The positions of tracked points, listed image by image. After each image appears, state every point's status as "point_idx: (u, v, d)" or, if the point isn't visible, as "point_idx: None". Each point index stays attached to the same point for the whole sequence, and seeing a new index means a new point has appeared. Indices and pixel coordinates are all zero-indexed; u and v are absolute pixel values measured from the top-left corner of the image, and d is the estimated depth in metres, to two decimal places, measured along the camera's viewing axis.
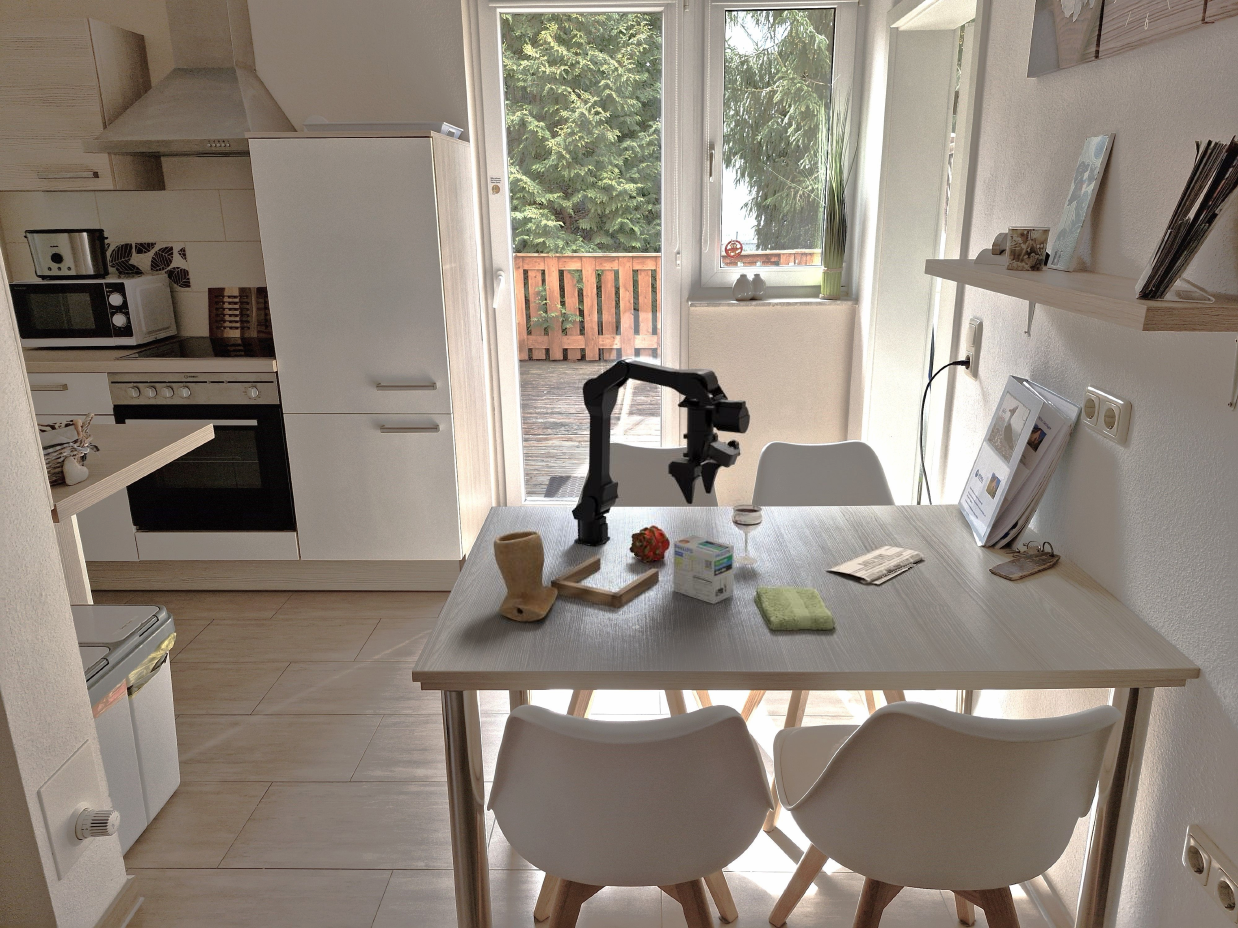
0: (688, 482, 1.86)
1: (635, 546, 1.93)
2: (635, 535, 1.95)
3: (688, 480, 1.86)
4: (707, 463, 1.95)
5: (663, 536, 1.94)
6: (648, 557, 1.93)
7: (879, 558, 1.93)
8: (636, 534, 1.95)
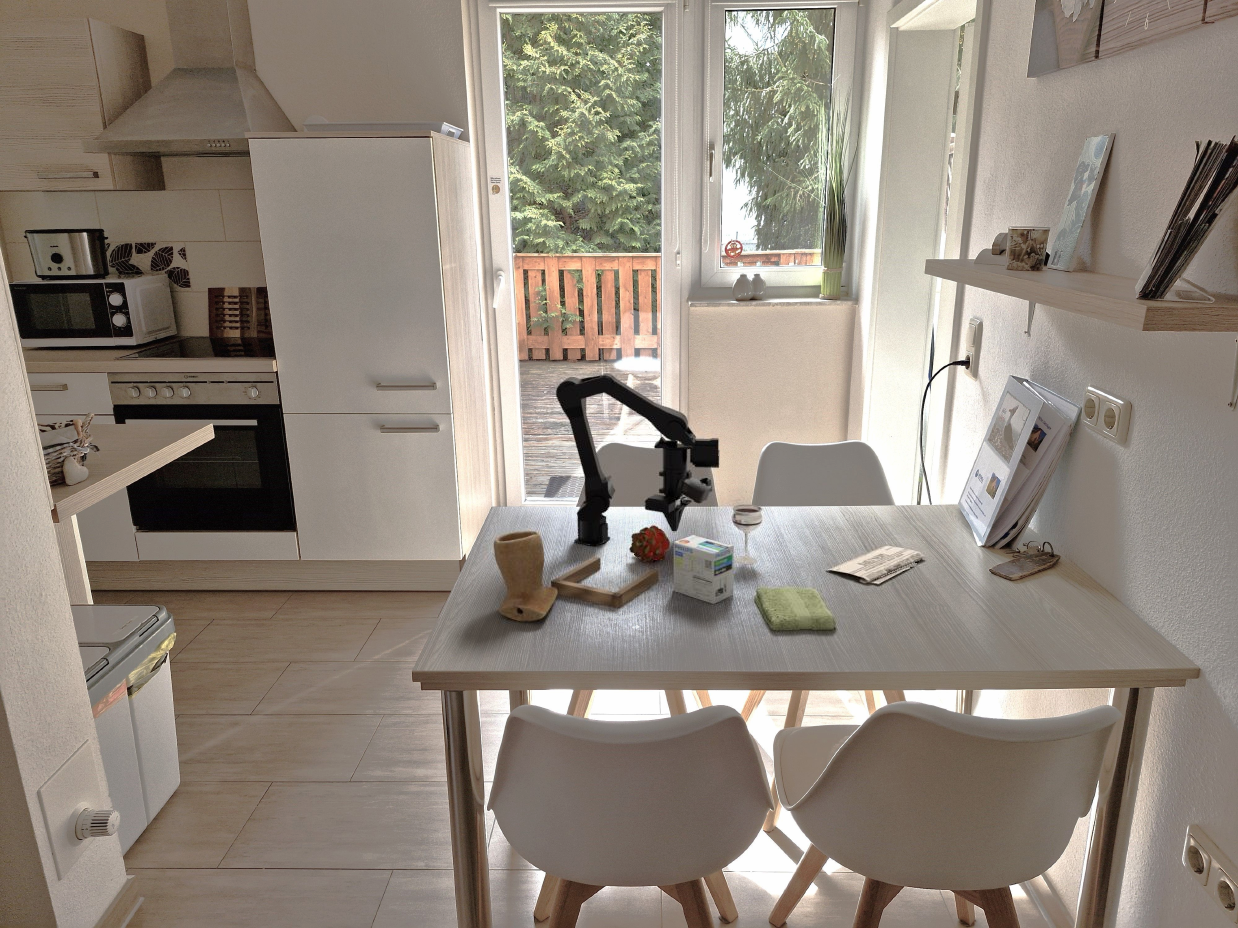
0: (672, 511, 2.04)
1: (635, 546, 1.93)
2: (635, 535, 1.95)
3: (672, 510, 2.04)
4: None
5: (663, 536, 1.94)
6: (648, 557, 1.93)
7: (879, 558, 1.93)
8: (636, 534, 1.95)
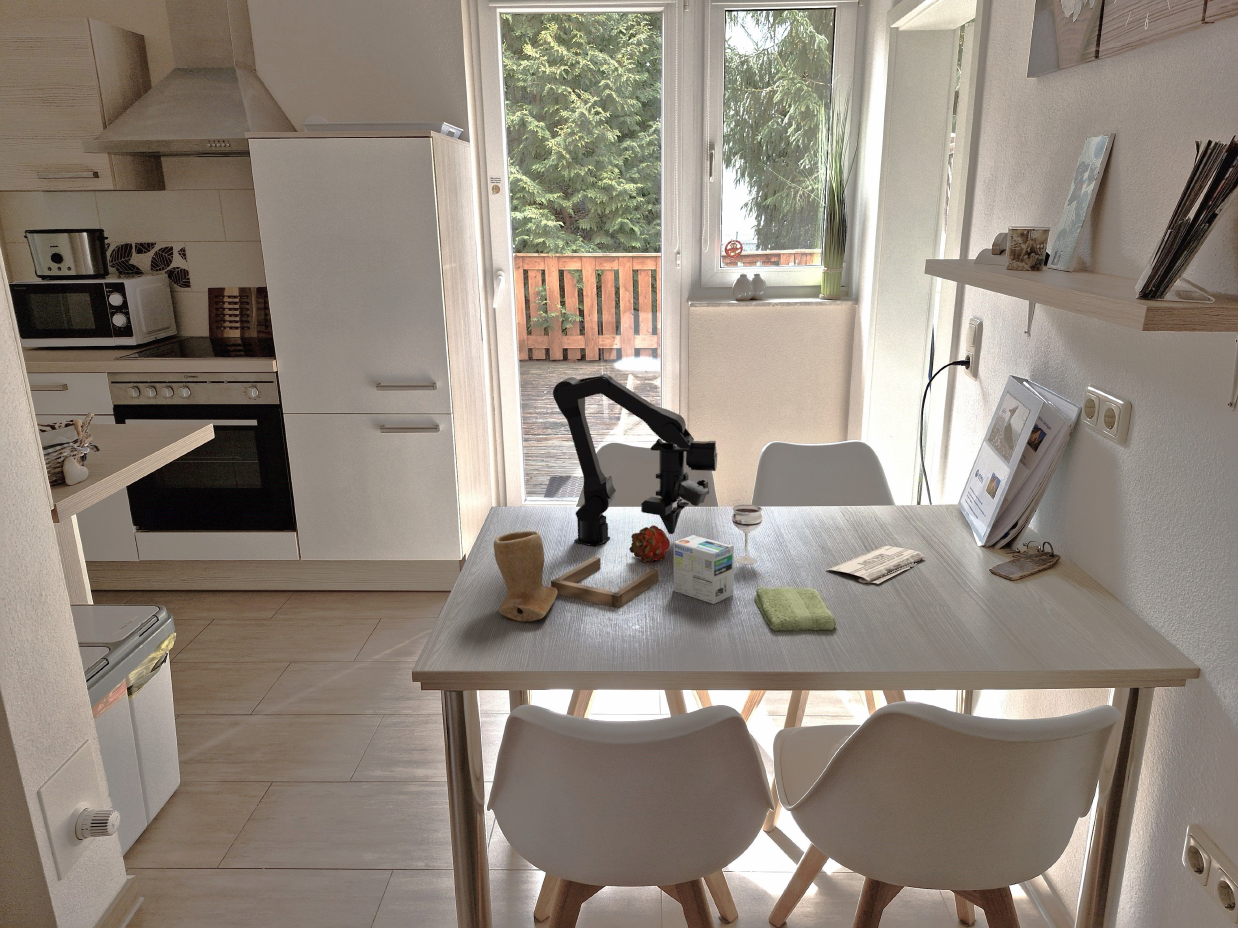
0: (669, 514, 2.03)
1: (635, 546, 1.93)
2: (635, 535, 1.95)
3: (669, 512, 2.03)
4: None
5: (663, 536, 1.94)
6: (648, 557, 1.93)
7: (879, 558, 1.93)
8: (636, 534, 1.95)
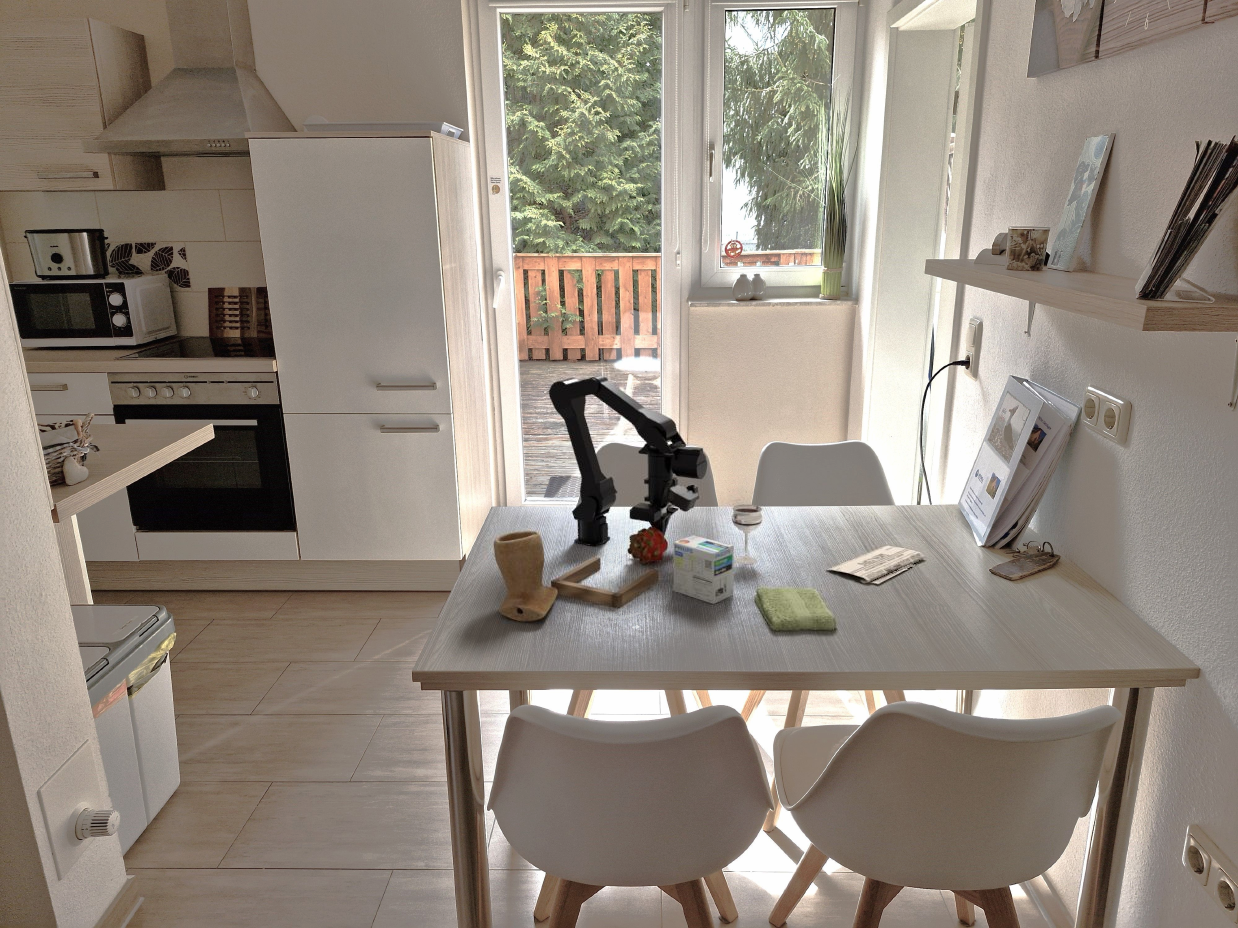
0: (658, 520, 1.99)
1: (633, 547, 1.92)
2: (633, 536, 1.94)
3: (658, 518, 1.98)
4: None
5: (661, 537, 1.93)
6: (646, 558, 1.92)
7: (880, 558, 1.93)
8: (634, 535, 1.94)
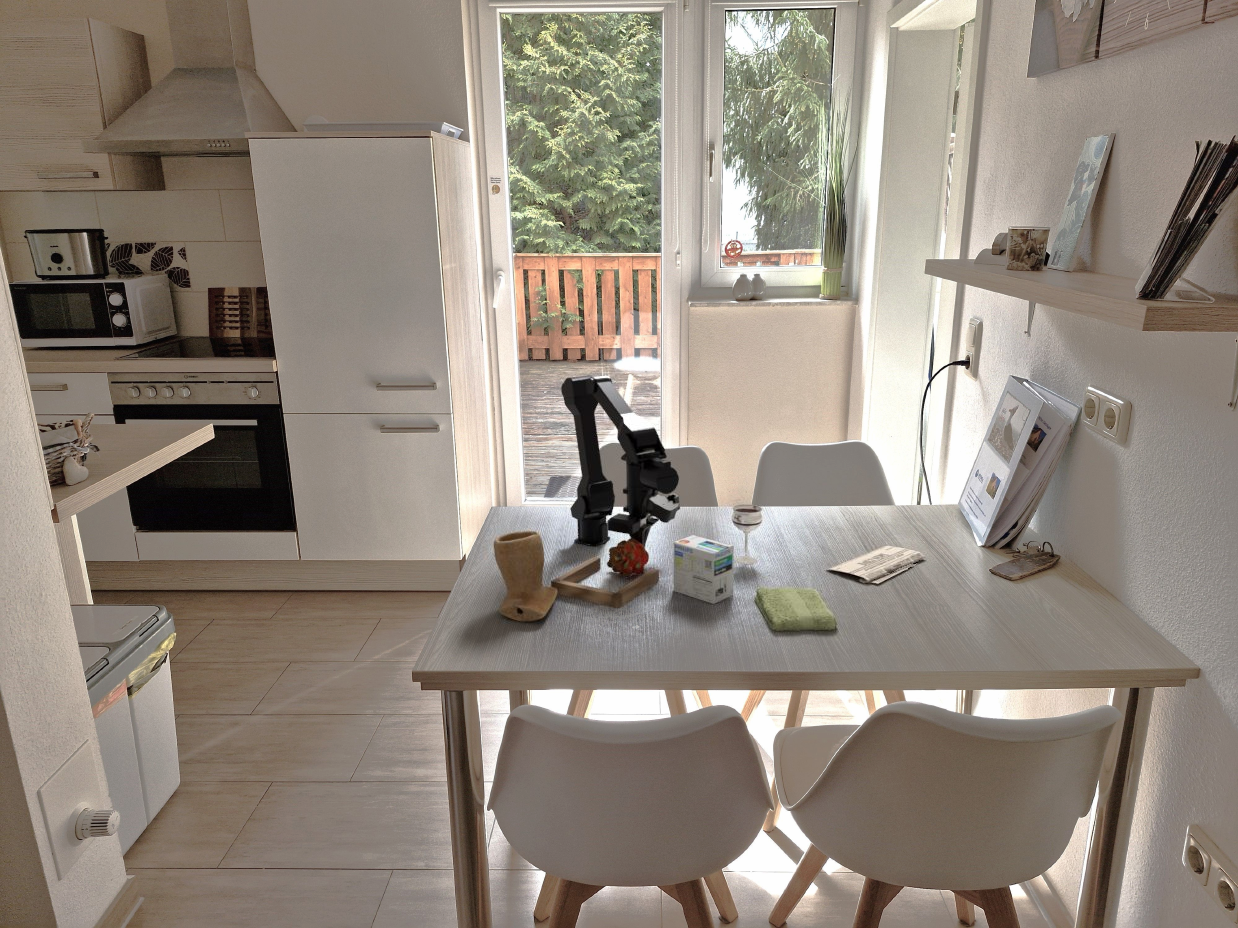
0: (638, 531, 1.91)
1: (613, 561, 1.84)
2: (613, 549, 1.86)
3: (638, 529, 1.91)
4: None
5: (642, 549, 1.86)
6: (627, 572, 1.84)
7: (880, 557, 1.93)
8: (614, 548, 1.86)
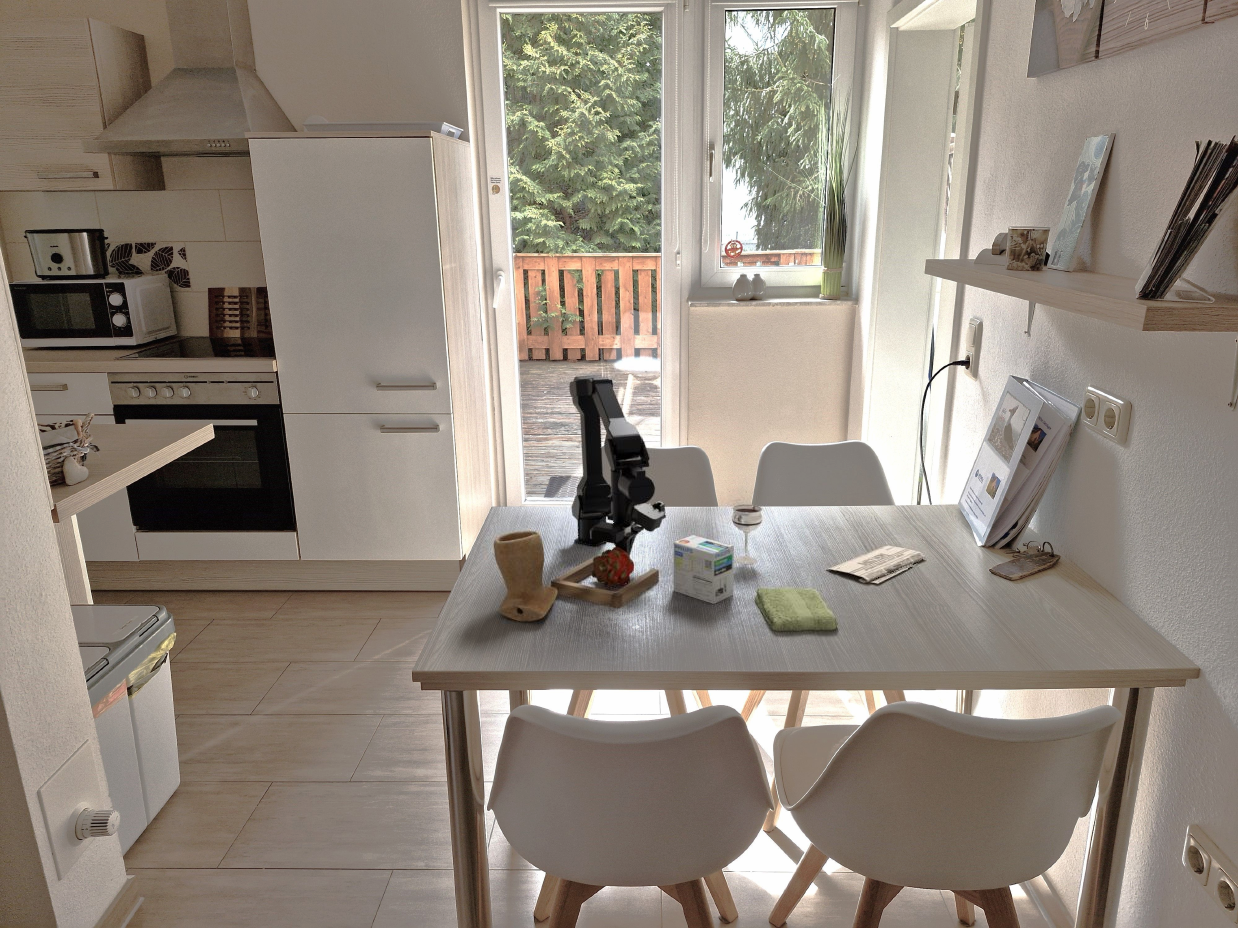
0: (622, 540, 1.86)
1: (598, 570, 1.79)
2: (597, 558, 1.81)
3: (622, 538, 1.85)
4: None
5: (627, 558, 1.80)
6: (612, 582, 1.79)
7: (880, 557, 1.93)
8: (598, 557, 1.81)
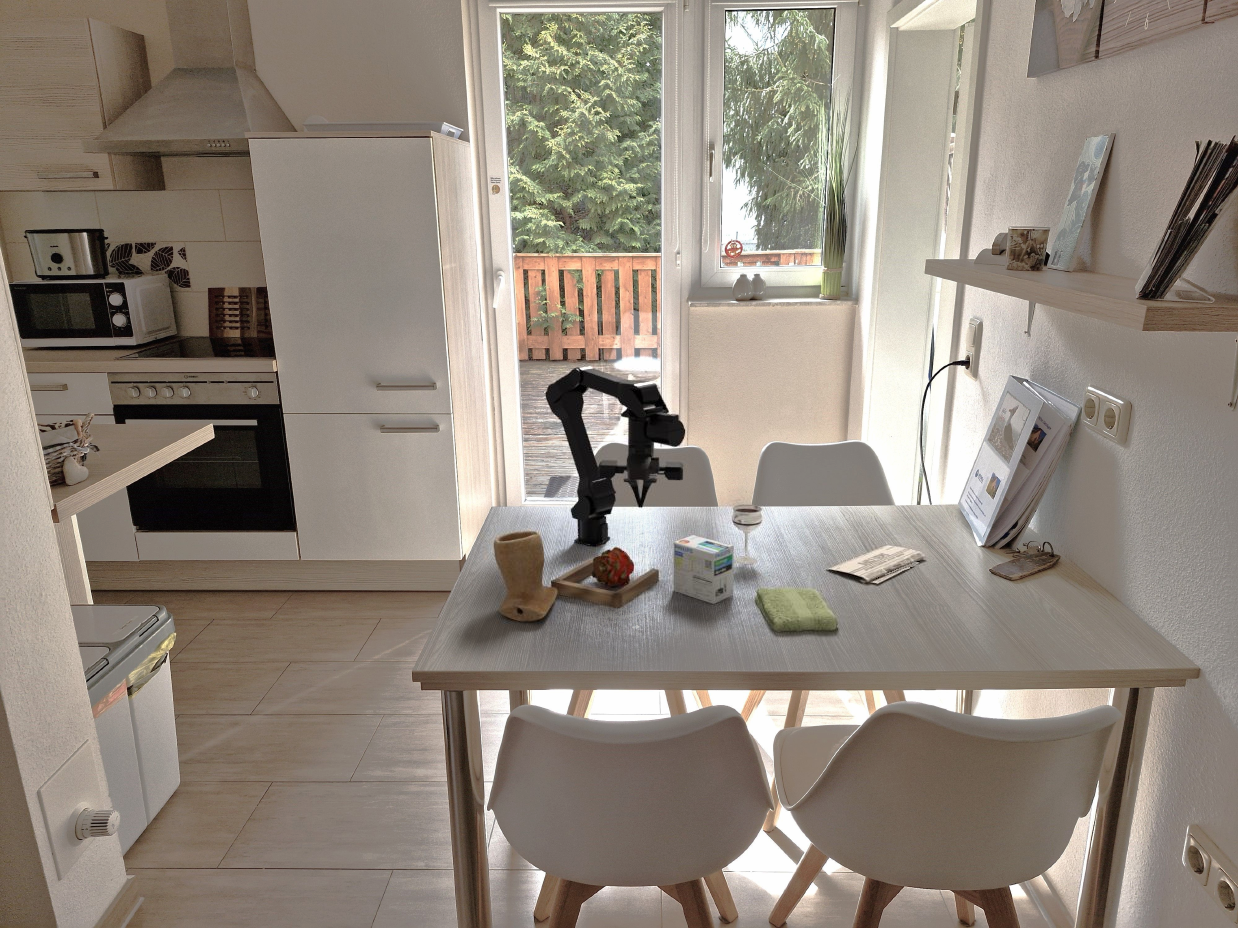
0: None
1: (598, 571, 1.79)
2: (597, 558, 1.81)
3: None
4: None
5: (627, 559, 1.80)
6: (612, 582, 1.79)
7: (880, 557, 1.93)
8: (598, 557, 1.81)
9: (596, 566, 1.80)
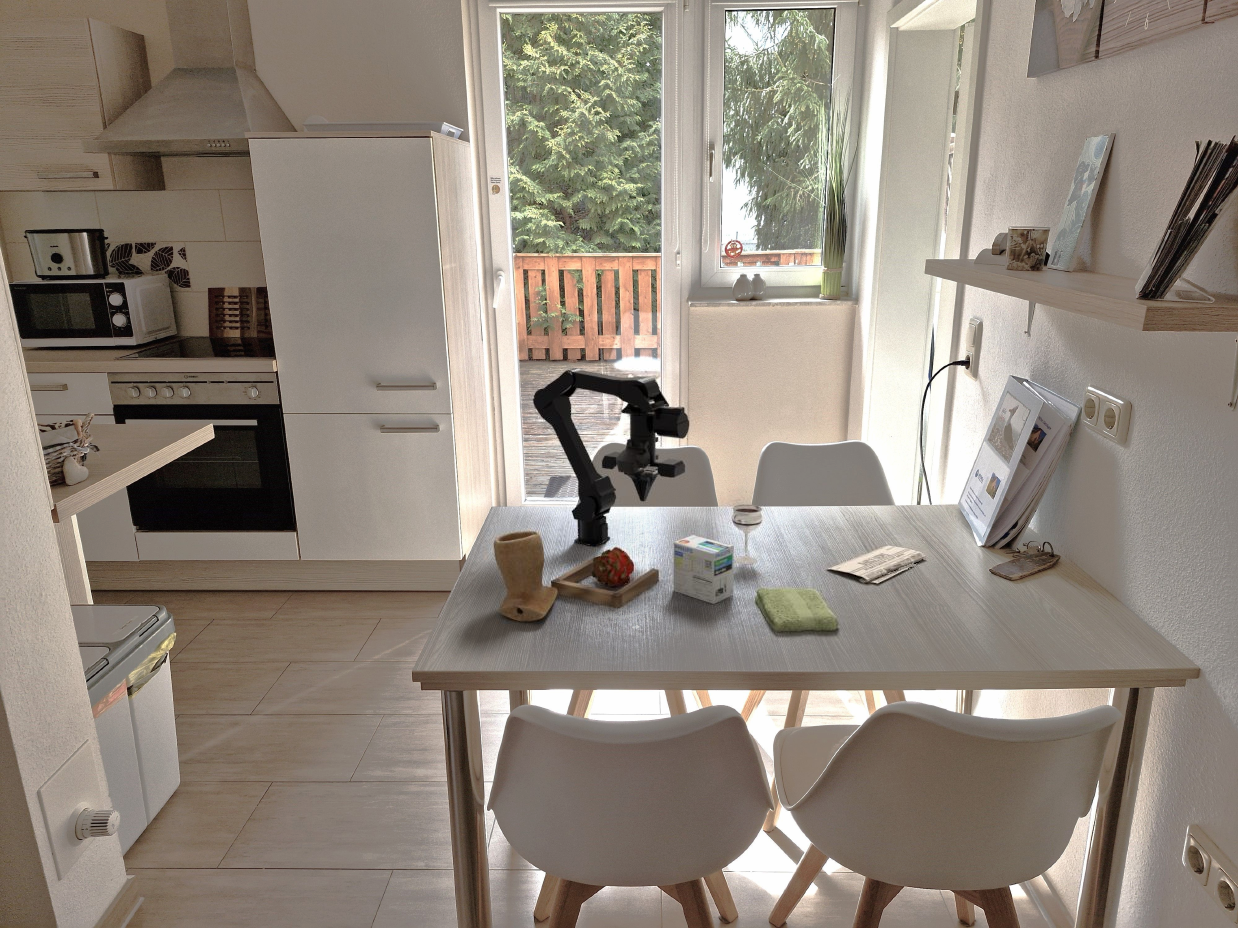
0: None
1: (598, 571, 1.79)
2: (597, 559, 1.81)
3: None
4: None
5: (627, 559, 1.80)
6: (612, 582, 1.79)
7: (880, 557, 1.93)
8: (598, 557, 1.81)
9: (596, 566, 1.80)
